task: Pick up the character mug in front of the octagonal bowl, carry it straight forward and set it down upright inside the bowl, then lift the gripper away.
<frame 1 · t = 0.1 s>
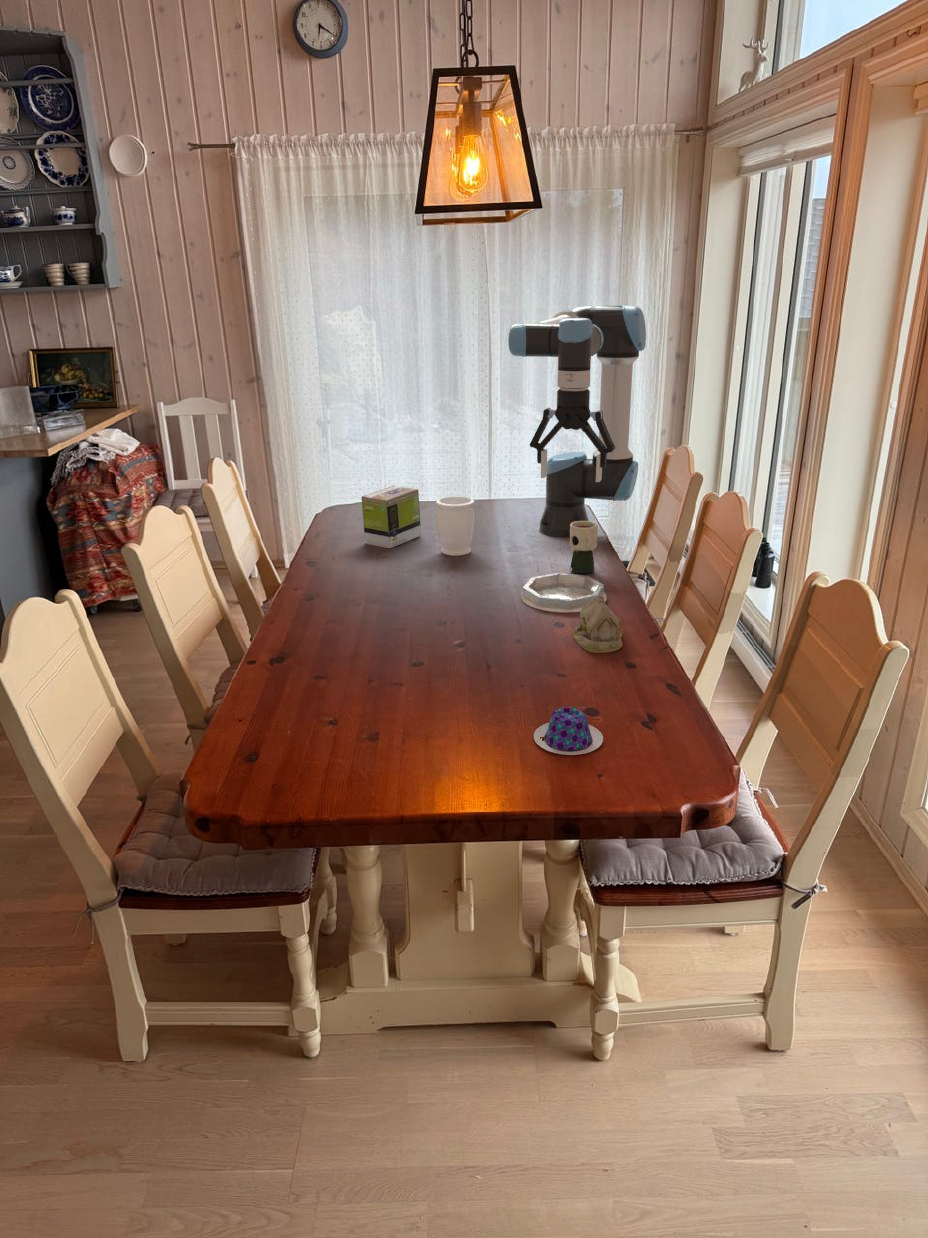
hand: (570, 478, 214), 28 cm above the table, fingers open, 13 cm apart
tea box: (393, 541, 265), on the table
jar: (456, 552, 253), on the table
ceramic model: (599, 641, 194), on the table
pudding: (568, 741, 154), on the table
character mug: (582, 572, 236), on the table
octagonal bowl: (563, 597, 218), on the table
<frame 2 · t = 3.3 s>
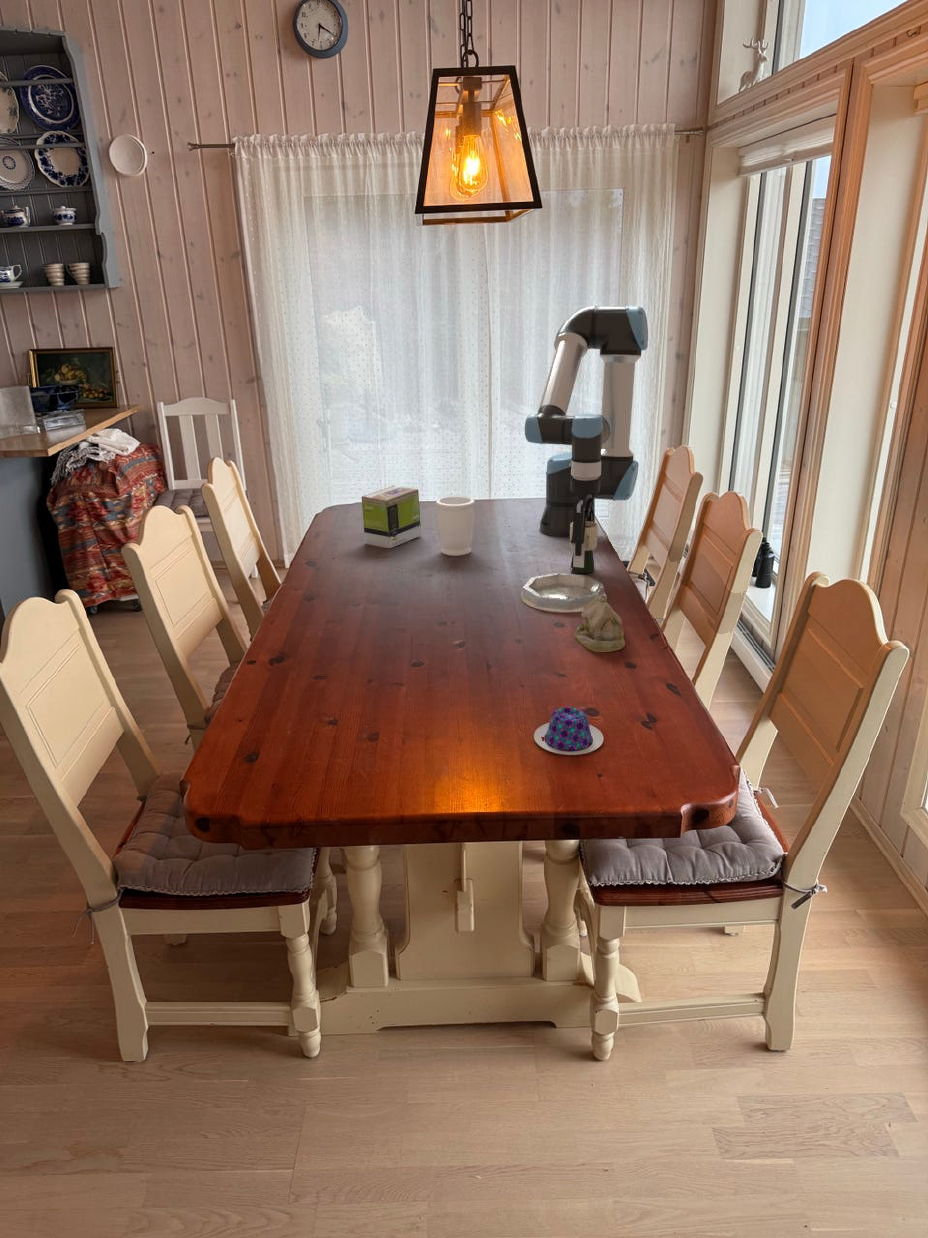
hand: (582, 561, 234), 3 cm above the table, fingers closed on character mug, 9 cm apart
character mug: (582, 572, 236), on the table, touching gripper
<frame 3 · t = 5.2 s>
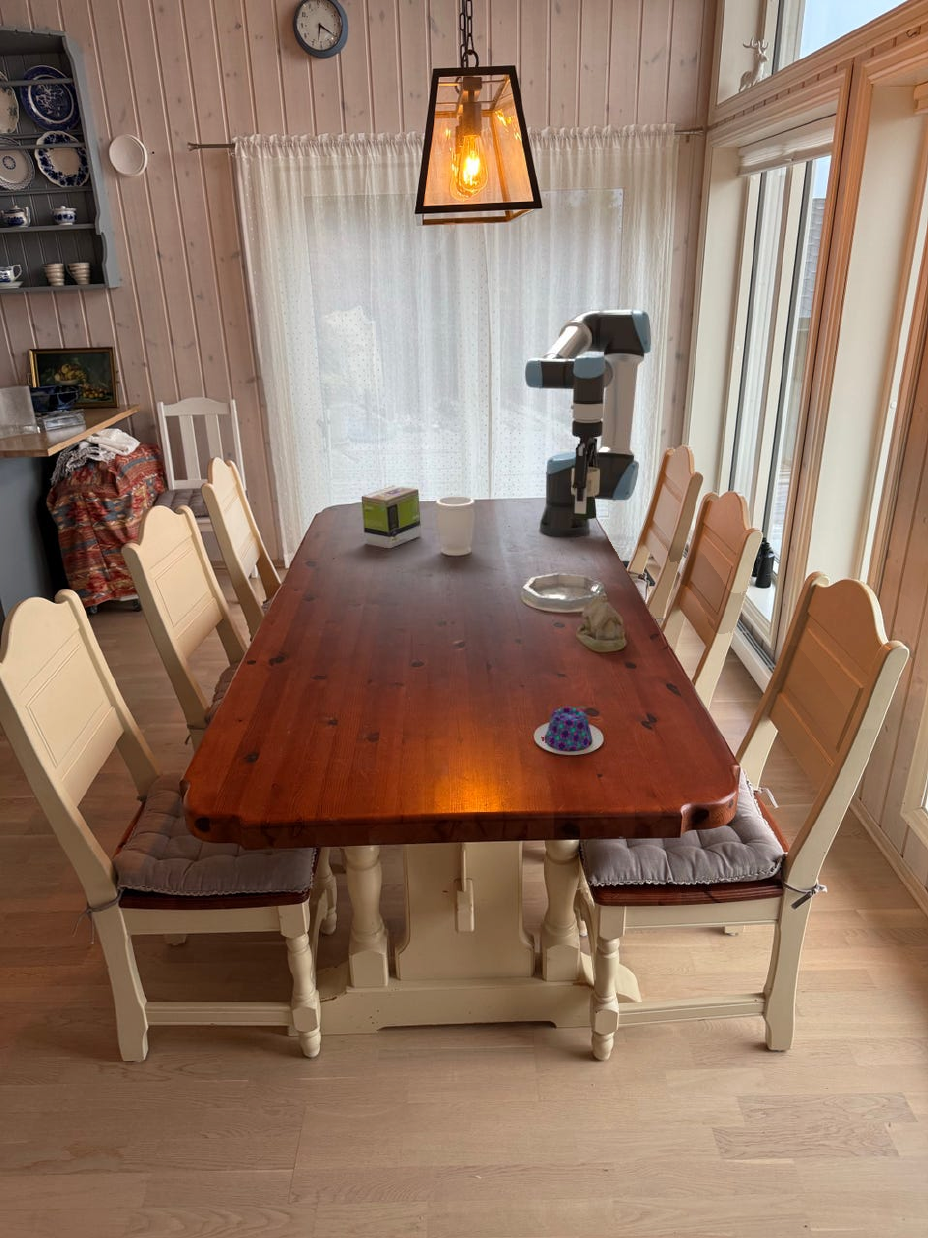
hand: (584, 508, 229), 17 cm above the table, fingers closed on character mug, 9 cm apart
character mug: (584, 519, 230), point 14 cm above the table, touching gripper
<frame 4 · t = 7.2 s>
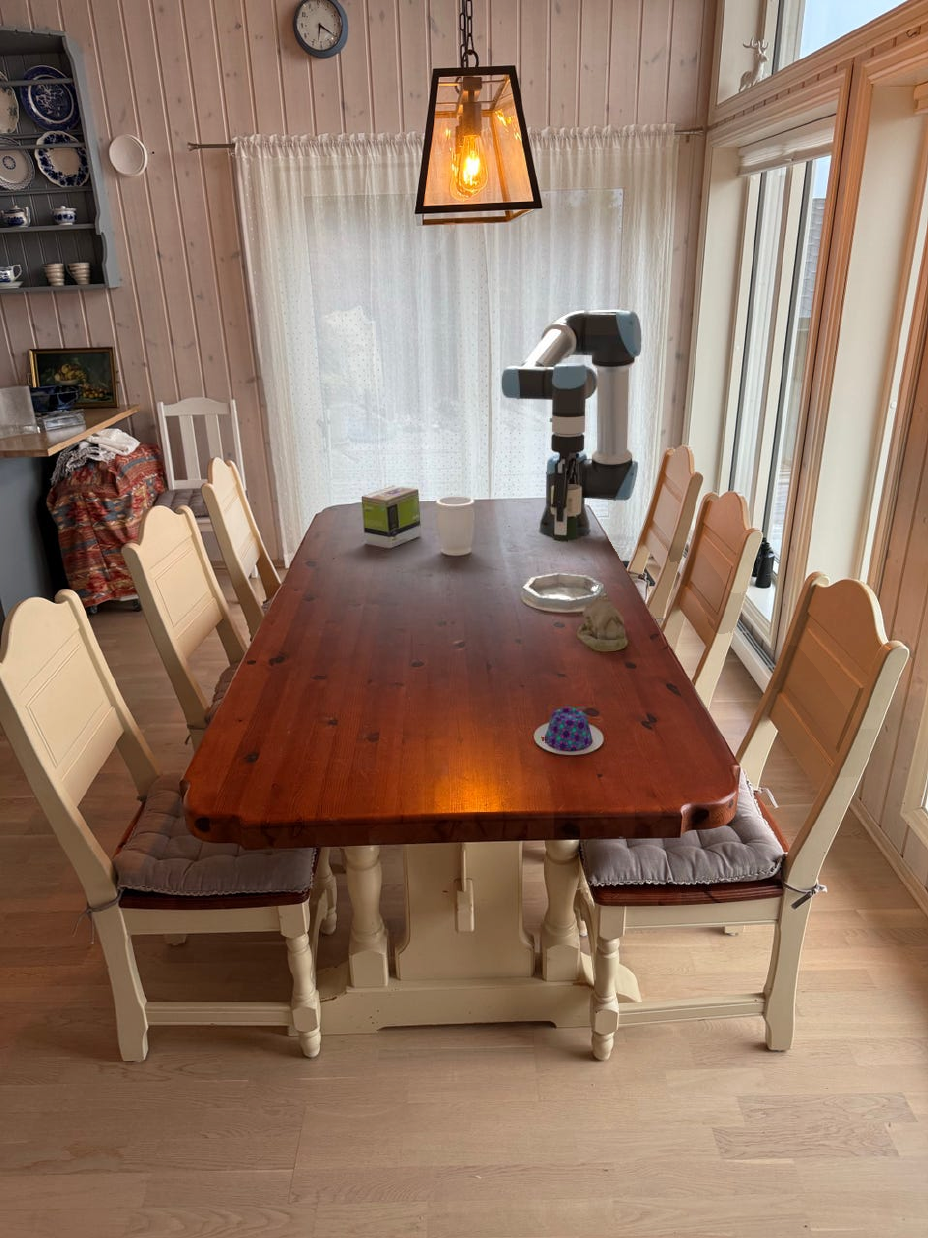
hand: (565, 528, 212), 17 cm above the table, fingers closed on character mug, 9 cm apart
character mug: (565, 541, 213), point 14 cm above the table, touching gripper
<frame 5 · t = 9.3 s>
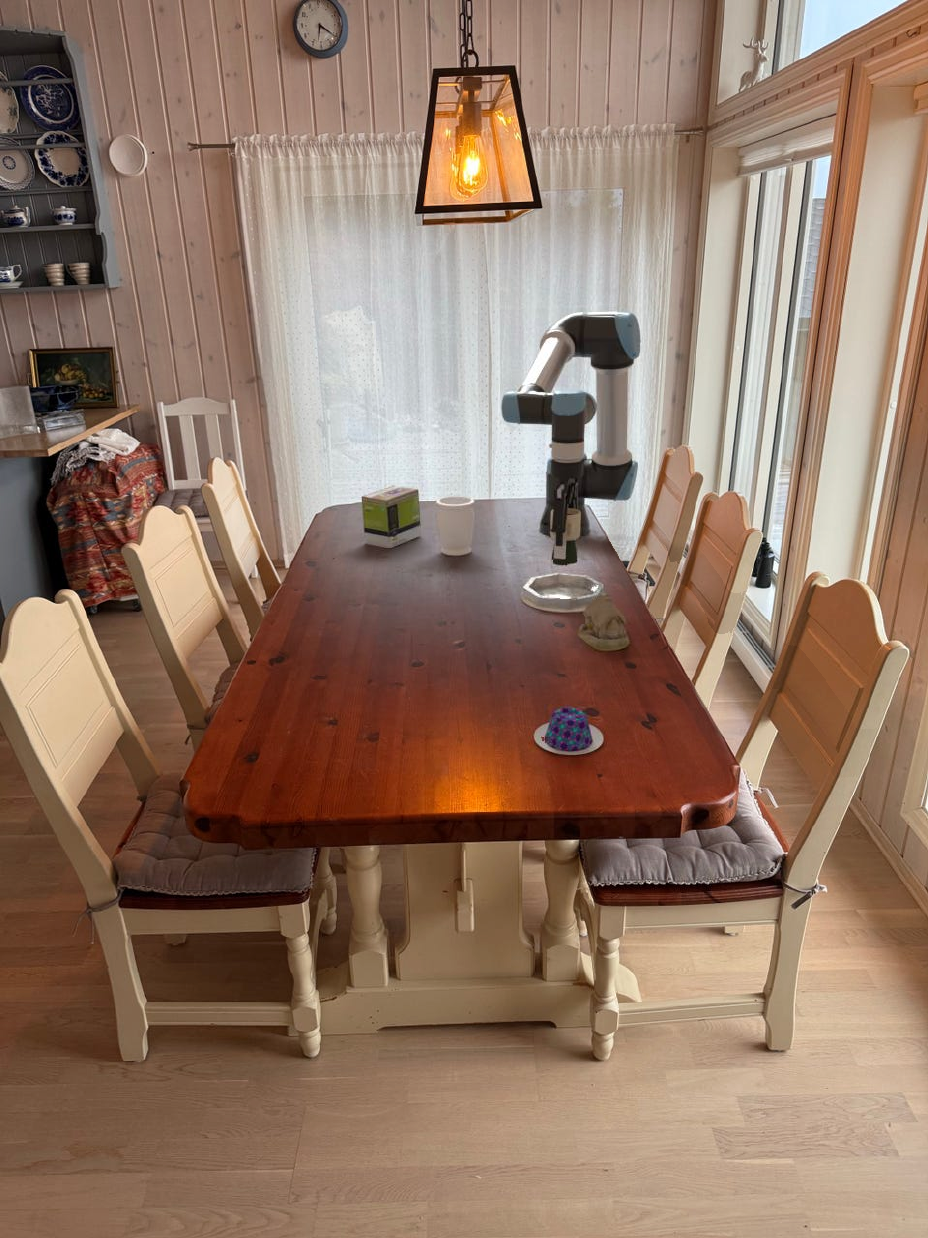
hand: (564, 552, 214), 12 cm above the table, fingers closed on character mug, 9 cm apart
character mug: (564, 564, 215), point 8 cm above the table, touching gripper
when the fingers open (4 cm above the table, at t = 11.3 s): character mug drops 1 cm, resting on octagonal bowl.
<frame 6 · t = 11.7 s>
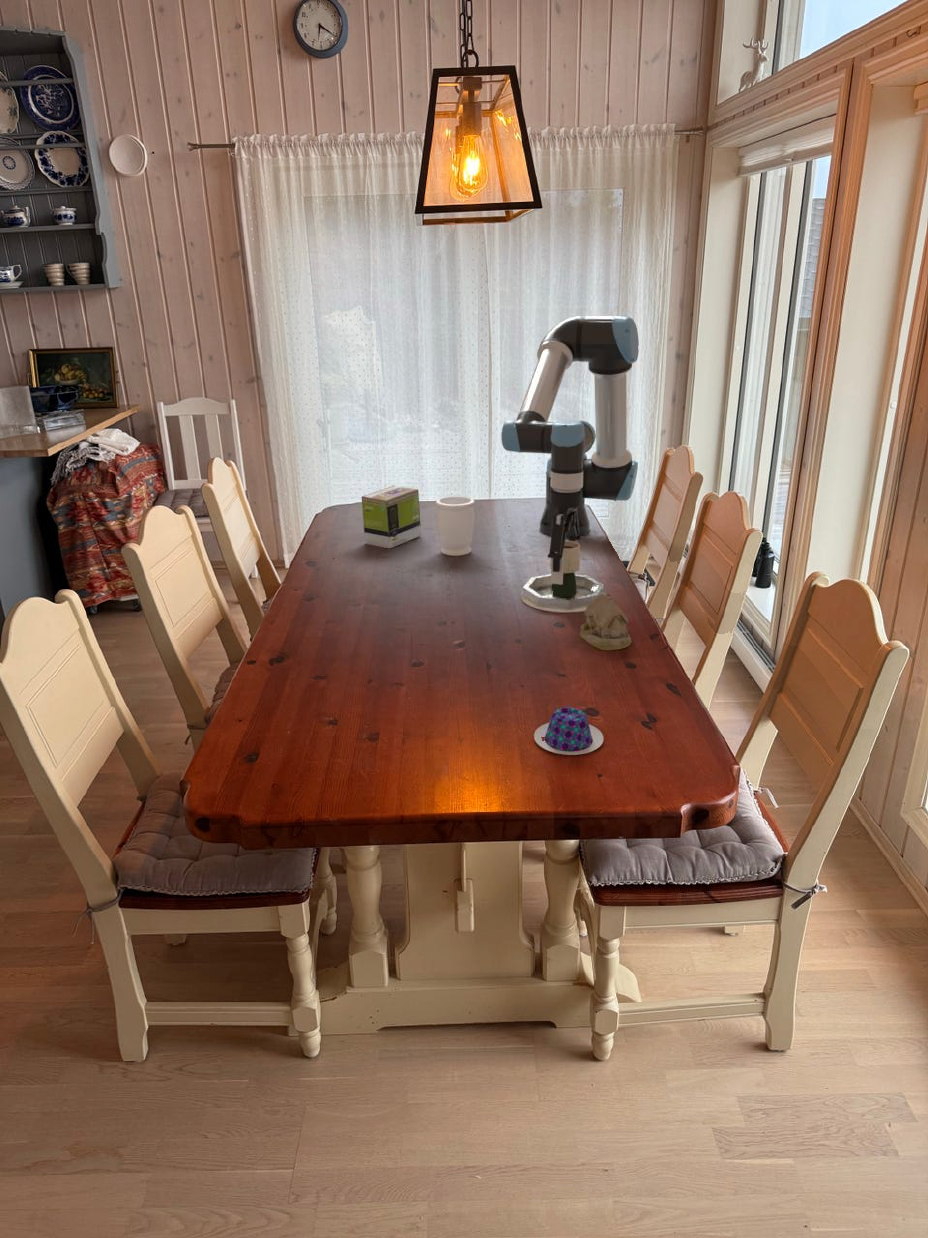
hand: (564, 574, 216), 6 cm above the table, fingers open, 13 cm apart
character mug: (563, 596, 218), resting on octagonal bowl
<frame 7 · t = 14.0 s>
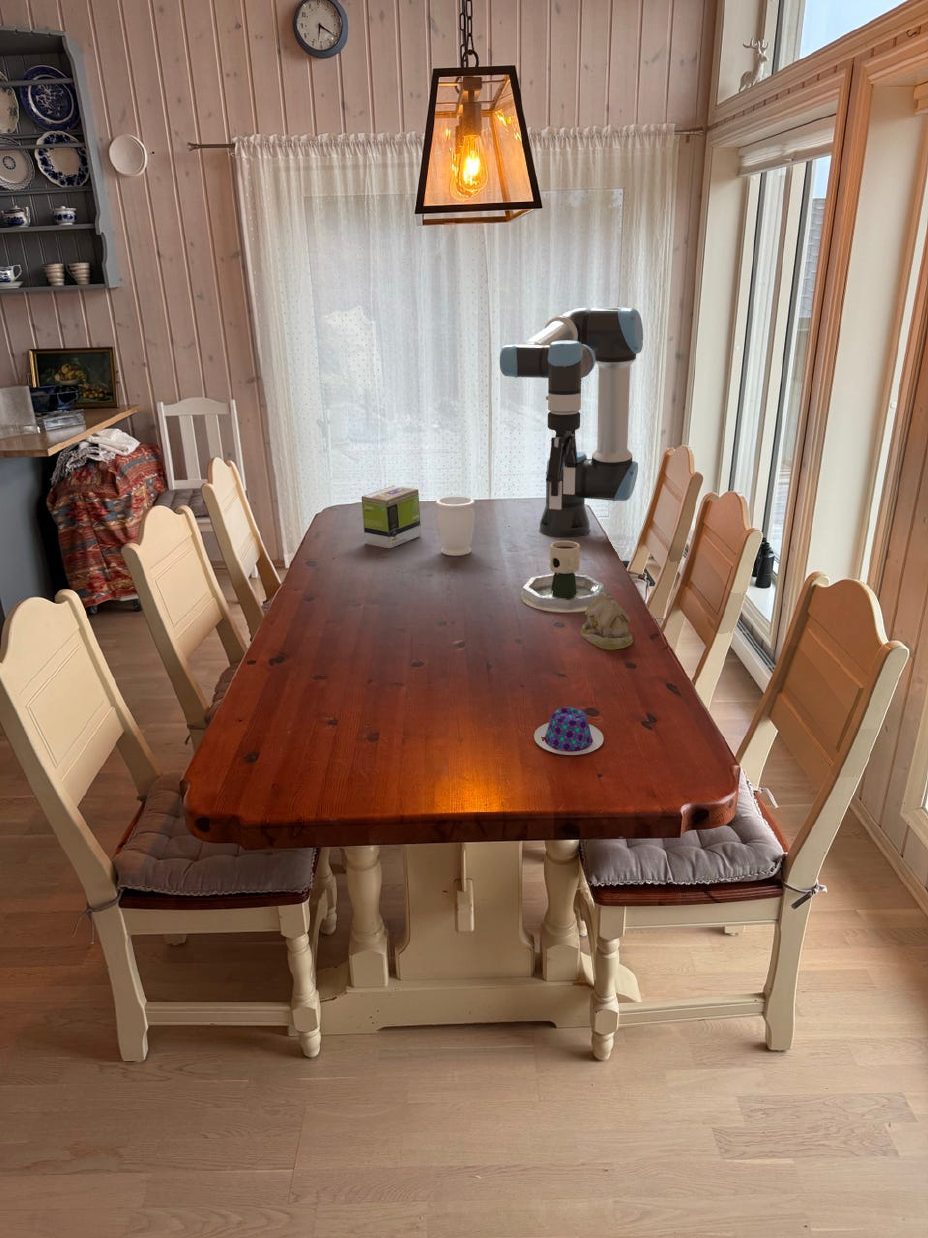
hand: (562, 501, 213), 23 cm above the table, fingers open, 13 cm apart
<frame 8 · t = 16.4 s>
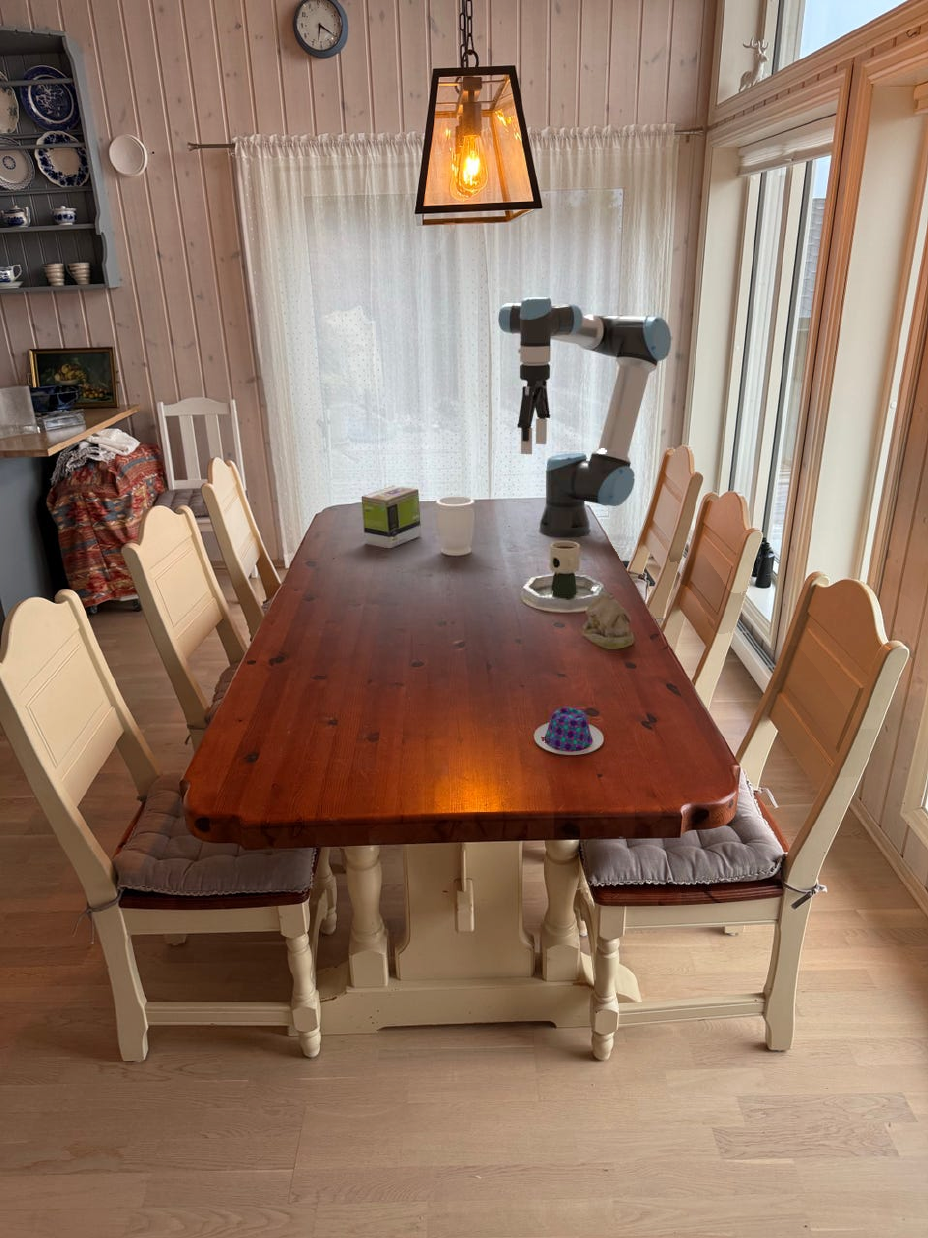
hand: (533, 448, 229), 32 cm above the table, fingers open, 13 cm apart
at the end: character mug inside the target area on the octagonal bowl (0.1 cm from its centre), point 0.2 cm above the octagonal bowl's base; character mug tilted 0°; the gripper is holding nothing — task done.
